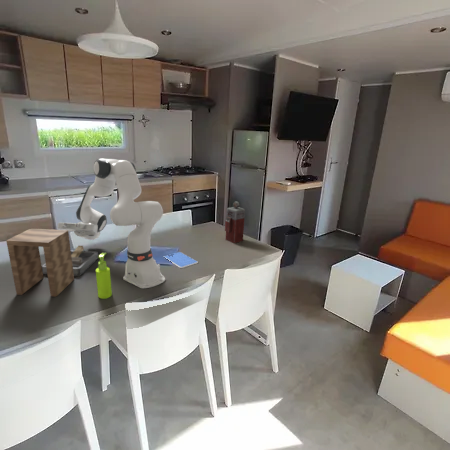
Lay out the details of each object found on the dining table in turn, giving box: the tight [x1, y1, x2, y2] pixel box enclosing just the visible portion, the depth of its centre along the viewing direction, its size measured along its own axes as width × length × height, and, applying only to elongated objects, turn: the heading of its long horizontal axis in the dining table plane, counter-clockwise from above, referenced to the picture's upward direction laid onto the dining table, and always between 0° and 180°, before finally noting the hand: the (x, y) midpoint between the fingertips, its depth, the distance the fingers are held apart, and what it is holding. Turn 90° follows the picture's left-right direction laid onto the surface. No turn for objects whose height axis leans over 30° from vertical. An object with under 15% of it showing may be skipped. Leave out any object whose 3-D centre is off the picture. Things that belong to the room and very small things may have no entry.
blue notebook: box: [163, 251, 199, 269], centre depth 178 cm, size 19×13×1 cm, turn 42°
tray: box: [41, 249, 99, 277], centre depth 164 cm, size 22×20×4 cm
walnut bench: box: [5, 228, 75, 297], centre depth 139 cm, size 16×18×26 cm
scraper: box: [71, 245, 85, 266], centre depth 167 cm, size 15×12×4 cm
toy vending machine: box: [224, 201, 246, 244], centre depth 208 cm, size 9×11×28 cm
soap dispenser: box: [95, 252, 113, 300], centre depth 135 cm, size 6×7×20 cm
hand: (70, 224), depth 161 cm, fingers open, 6 cm apart
